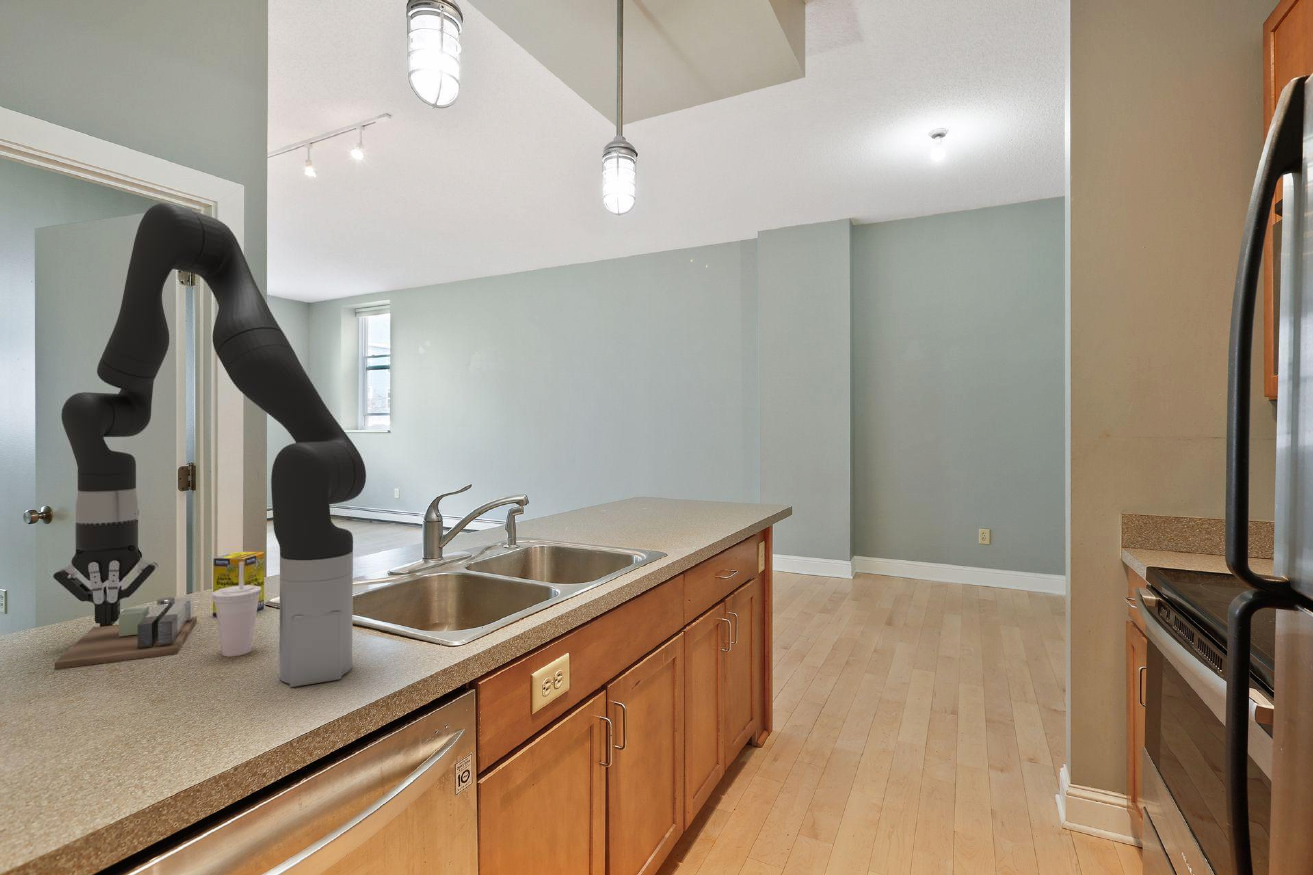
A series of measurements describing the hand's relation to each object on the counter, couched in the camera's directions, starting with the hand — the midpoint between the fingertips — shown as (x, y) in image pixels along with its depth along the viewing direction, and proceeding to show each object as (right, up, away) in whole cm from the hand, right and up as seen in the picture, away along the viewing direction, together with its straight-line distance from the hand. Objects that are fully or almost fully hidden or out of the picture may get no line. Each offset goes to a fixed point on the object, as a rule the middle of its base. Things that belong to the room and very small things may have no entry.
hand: (107, 624), depth 99 cm
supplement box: (+10, -3, +16) cm, 19 cm away
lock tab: (+3, -2, +2) cm, 4 cm away
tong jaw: (+7, -2, 0) cm, 8 cm away
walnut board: (+4, -3, 0) cm, 5 cm away
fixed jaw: (+8, -2, +2) cm, 8 cm away
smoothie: (+23, -4, -3) cm, 23 cm away
